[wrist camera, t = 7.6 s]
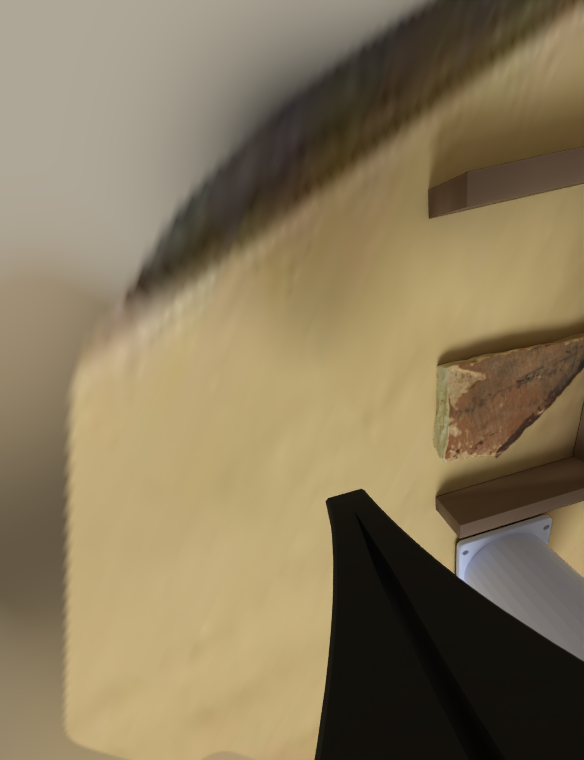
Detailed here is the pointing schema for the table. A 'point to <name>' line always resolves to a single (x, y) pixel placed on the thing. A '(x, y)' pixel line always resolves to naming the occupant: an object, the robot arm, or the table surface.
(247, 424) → the table surface
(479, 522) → the frame
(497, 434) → the shard
